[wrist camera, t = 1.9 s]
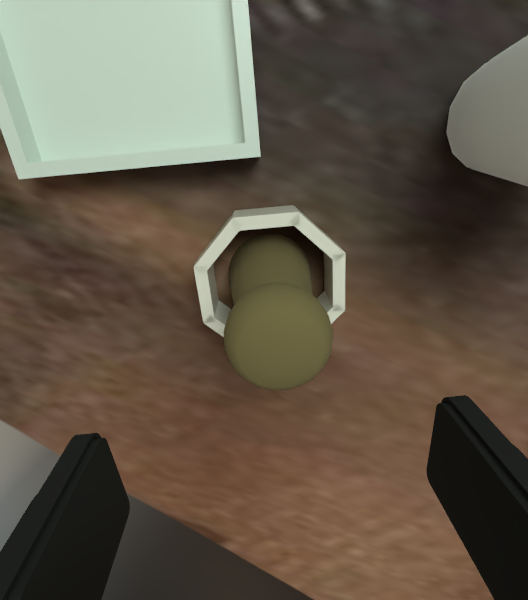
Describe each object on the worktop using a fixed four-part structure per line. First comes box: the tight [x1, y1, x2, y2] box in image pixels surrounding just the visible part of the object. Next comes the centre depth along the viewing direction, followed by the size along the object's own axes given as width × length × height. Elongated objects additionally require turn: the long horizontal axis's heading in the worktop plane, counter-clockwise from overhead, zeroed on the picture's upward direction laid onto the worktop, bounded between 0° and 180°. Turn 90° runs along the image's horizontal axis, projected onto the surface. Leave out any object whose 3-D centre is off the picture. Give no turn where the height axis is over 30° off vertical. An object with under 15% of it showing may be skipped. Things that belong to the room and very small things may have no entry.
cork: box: [224, 234, 333, 390], centre depth 20 cm, size 6×6×11 cm
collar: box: [194, 205, 345, 337], centre depth 23 cm, size 10×10×3 cm
